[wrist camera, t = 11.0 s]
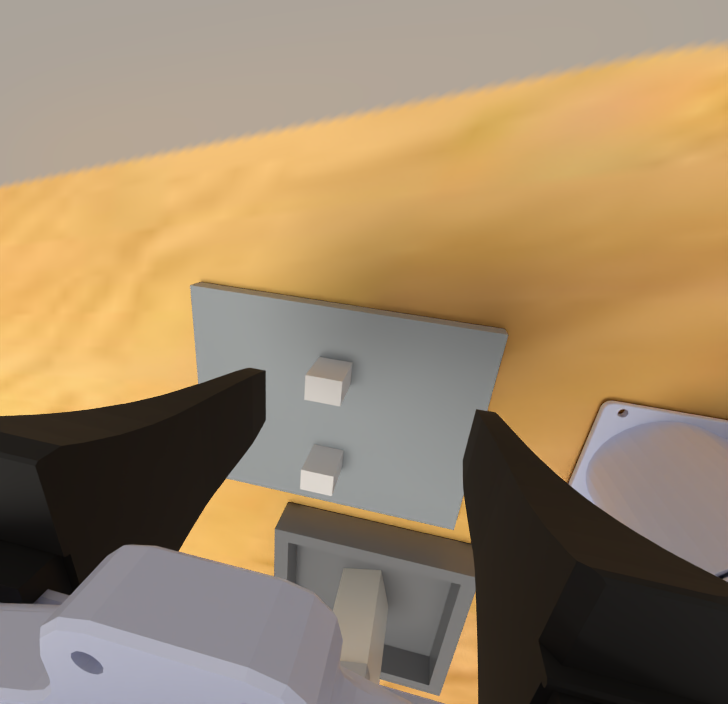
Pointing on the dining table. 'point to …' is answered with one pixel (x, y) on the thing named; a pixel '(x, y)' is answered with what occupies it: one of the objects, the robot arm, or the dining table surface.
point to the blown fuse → (362, 621)
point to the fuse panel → (353, 397)
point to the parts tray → (386, 584)
